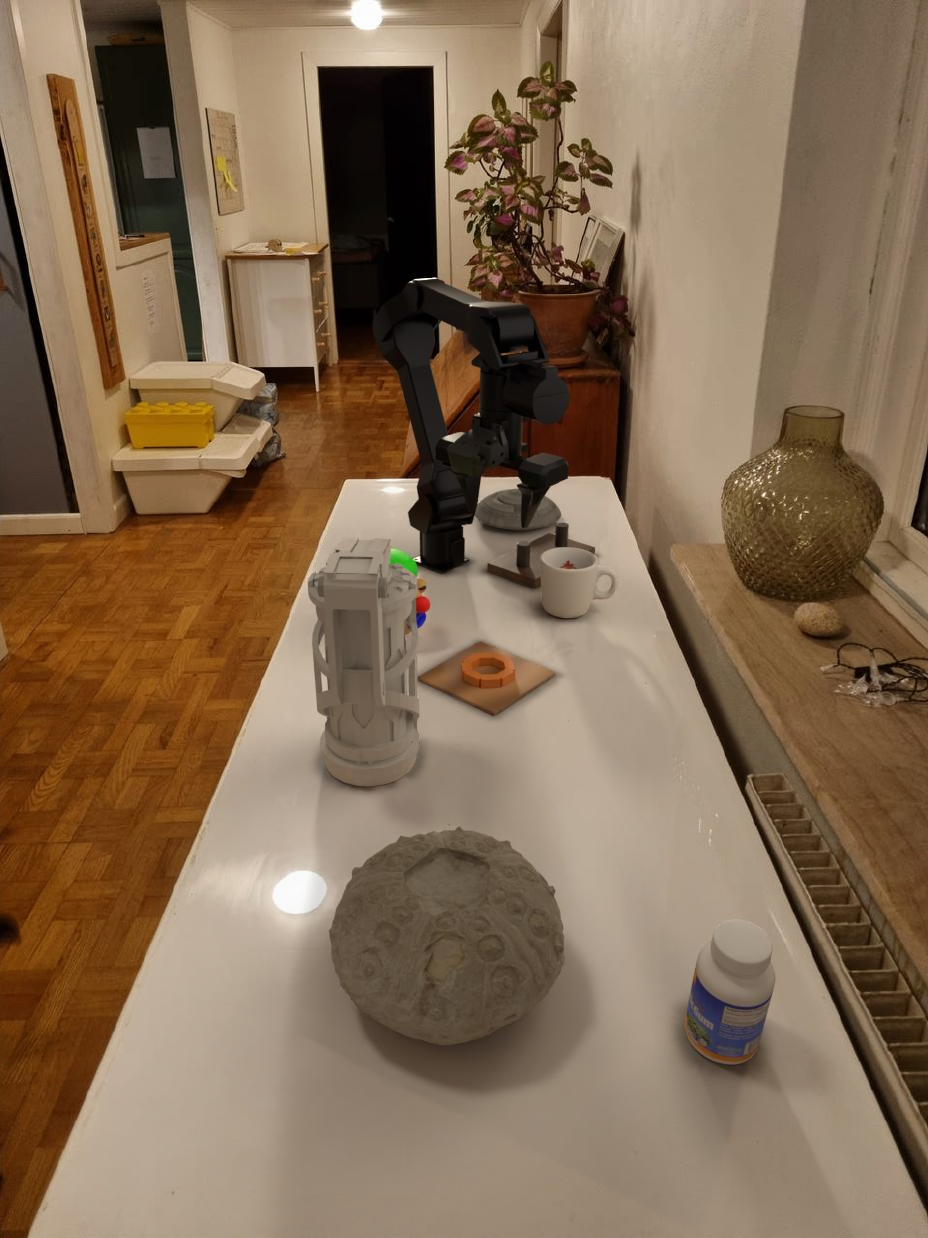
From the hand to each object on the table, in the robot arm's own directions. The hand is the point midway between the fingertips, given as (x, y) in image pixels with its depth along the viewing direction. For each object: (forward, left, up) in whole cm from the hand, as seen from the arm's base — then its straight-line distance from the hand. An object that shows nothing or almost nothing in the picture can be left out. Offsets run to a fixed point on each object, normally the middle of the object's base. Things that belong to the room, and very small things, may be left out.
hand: (498, 519), depth 126 cm
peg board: (-2, +14, -12) cm, 19 cm away
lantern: (+15, -40, -12) cm, 44 cm away
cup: (+11, +4, -12) cm, 17 cm away
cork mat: (+13, -18, -12) cm, 25 cm away
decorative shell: (+39, -55, -12) cm, 69 cm away
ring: (+13, -18, -12) cm, 25 cm away
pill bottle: (+58, -46, -12) cm, 75 cm away
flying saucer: (-16, +26, -12) cm, 33 cm away
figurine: (-3, -18, -12) cm, 22 cm away
